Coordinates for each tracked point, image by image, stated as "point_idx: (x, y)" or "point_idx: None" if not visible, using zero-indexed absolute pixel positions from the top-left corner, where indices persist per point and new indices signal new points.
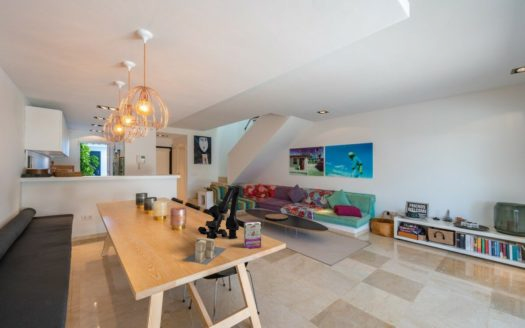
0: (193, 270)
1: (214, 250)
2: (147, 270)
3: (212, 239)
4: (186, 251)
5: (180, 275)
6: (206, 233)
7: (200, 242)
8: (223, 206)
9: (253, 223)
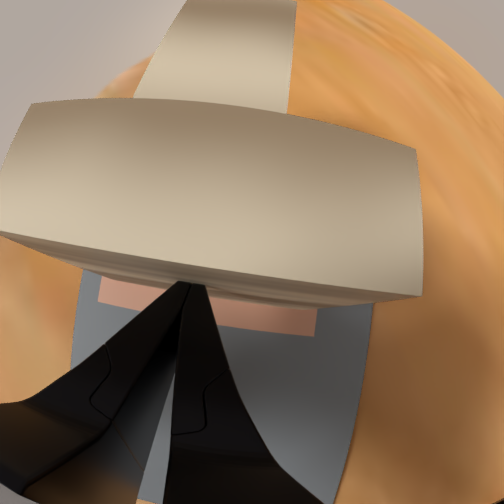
0: None
1: (170, 429)
2: (438, 66)
3: (9, 207)
4: (446, 342)
5: None
6: (300, 491)
7: (225, 17)
8: None
9: None
